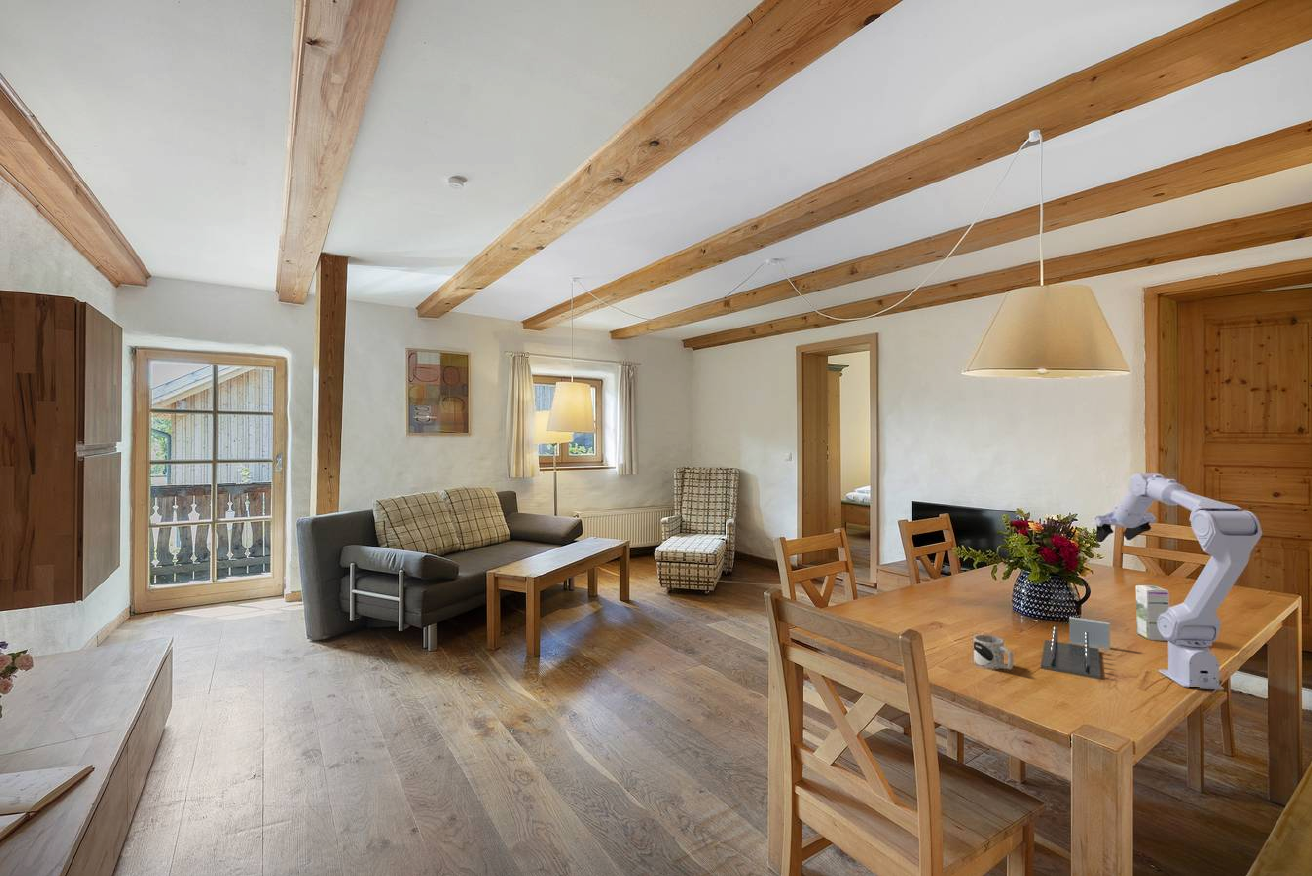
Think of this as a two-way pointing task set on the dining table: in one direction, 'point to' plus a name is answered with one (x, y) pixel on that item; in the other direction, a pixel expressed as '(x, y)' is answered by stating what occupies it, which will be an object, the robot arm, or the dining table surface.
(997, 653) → the mug
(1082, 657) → the rack
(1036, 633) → the dining table surface
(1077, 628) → the plate
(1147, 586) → the syrup box
